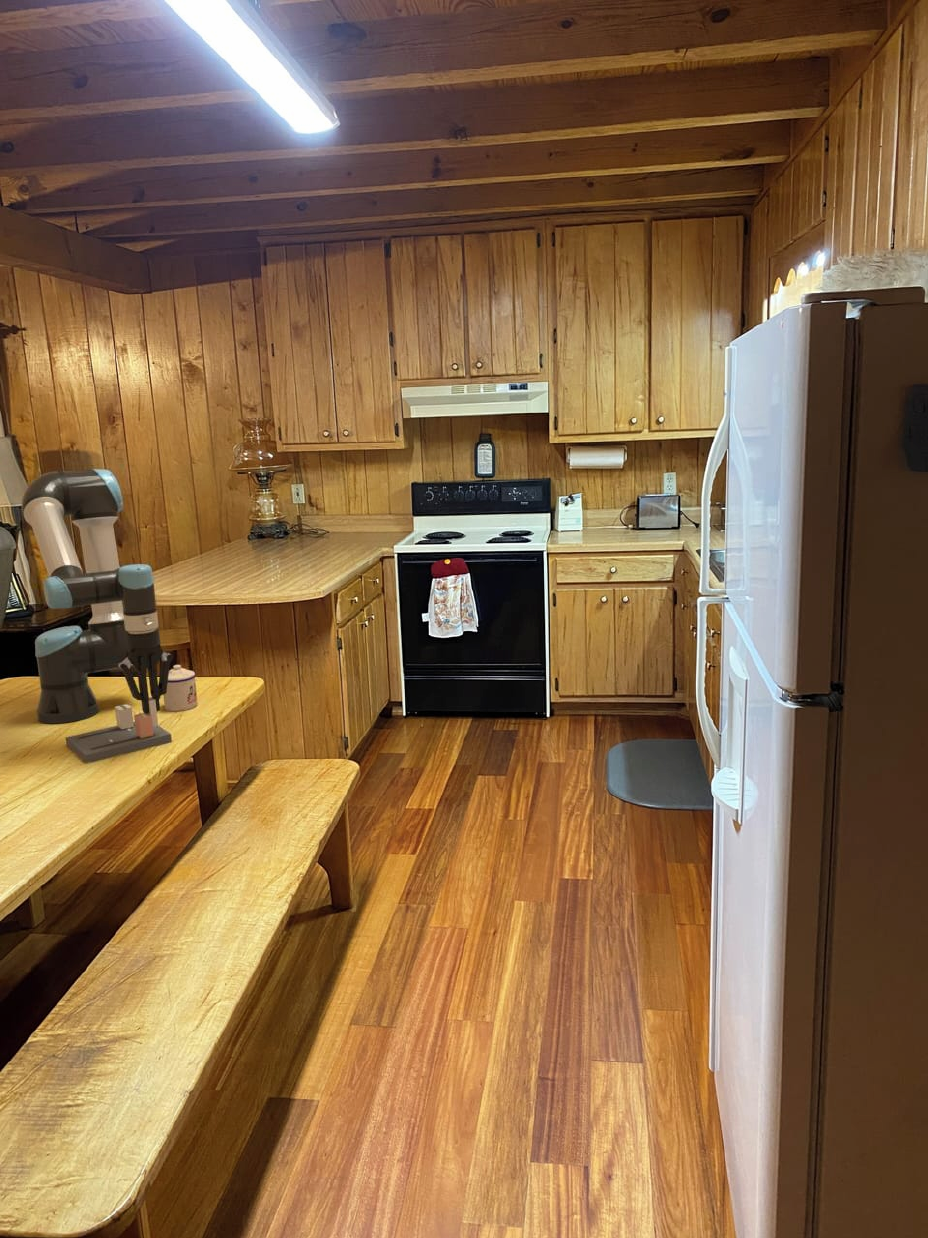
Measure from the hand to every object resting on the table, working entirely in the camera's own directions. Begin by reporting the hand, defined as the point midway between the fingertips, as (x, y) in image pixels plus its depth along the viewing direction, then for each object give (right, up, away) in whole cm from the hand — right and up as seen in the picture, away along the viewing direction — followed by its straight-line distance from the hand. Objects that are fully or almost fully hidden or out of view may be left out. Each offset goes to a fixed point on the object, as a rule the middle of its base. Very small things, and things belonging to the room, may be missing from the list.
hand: (153, 724), depth 218 cm
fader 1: (-9, -1, +6) cm, 11 cm away
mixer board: (-8, -5, 0) cm, 10 cm away
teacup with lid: (-2, +2, +29) cm, 29 cm away
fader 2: (-2, -2, -1) cm, 3 cm away
